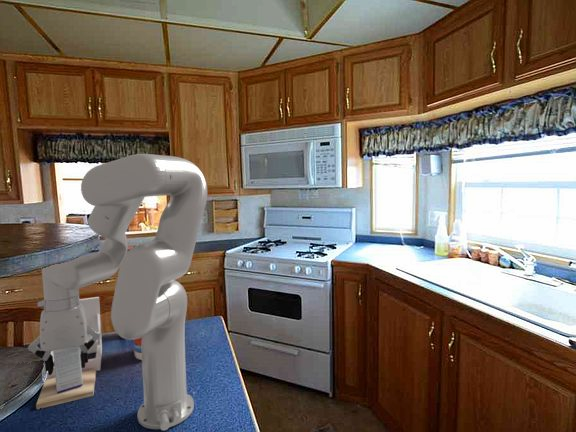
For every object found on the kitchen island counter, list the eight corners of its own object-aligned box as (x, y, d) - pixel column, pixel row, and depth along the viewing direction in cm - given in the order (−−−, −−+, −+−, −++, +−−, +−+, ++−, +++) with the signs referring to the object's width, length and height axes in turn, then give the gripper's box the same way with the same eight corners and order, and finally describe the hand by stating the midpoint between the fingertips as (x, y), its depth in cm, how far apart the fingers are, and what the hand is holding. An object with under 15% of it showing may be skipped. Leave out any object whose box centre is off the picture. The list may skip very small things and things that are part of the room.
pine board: (93, 395, 89) (93, 391, 88) (36, 409, 83) (36, 404, 83) (96, 372, 99) (95, 368, 99) (45, 383, 94) (45, 379, 94)
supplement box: (83, 385, 91) (79, 344, 89) (56, 394, 87) (51, 351, 86) (82, 375, 95) (77, 336, 94) (56, 383, 92) (51, 342, 91)
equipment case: (100, 371, 100) (96, 312, 98) (41, 384, 94) (36, 322, 92) (102, 348, 114) (98, 296, 112) (51, 358, 108) (47, 303, 106)
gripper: (16, 313, 82) (23, 385, 84) (100, 301, 89) (104, 367, 91) (24, 303, 89) (30, 370, 90) (101, 293, 96) (105, 355, 98)
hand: (67, 368), depth 91 cm, fingers open, 6 cm apart
